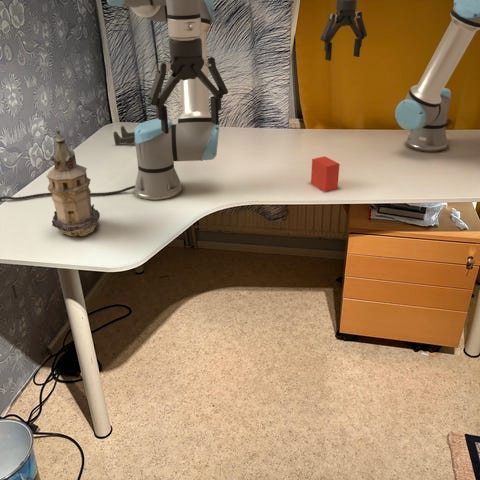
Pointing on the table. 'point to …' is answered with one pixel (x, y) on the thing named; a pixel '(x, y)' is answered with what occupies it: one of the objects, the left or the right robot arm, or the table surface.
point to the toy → (124, 137)
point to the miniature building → (70, 193)
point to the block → (325, 173)
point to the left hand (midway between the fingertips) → (190, 127)
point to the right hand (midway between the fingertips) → (342, 58)
